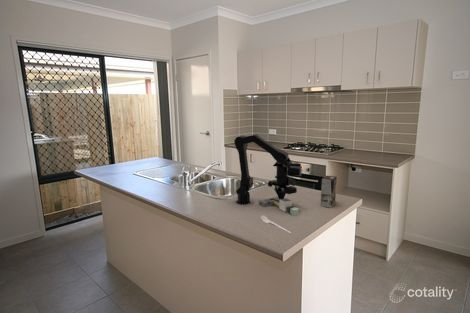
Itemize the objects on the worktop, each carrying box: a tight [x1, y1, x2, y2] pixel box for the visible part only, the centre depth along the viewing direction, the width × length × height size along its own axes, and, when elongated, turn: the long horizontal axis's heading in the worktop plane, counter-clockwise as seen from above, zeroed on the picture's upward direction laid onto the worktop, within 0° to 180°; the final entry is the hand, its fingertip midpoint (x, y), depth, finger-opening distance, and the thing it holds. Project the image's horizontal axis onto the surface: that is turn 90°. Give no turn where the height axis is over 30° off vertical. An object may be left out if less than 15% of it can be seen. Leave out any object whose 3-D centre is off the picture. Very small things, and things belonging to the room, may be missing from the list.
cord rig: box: [258, 196, 300, 216], centre depth 158 cm, size 23×16×3 cm
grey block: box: [278, 197, 293, 213], centre depth 156 cm, size 5×5×5 cm
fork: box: [259, 215, 291, 234], centre depth 137 cm, size 3×20×2 cm, turn 35°
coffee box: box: [320, 175, 338, 208], centre depth 162 cm, size 9×6×16 cm
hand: (281, 201), depth 159 cm, fingers closed
